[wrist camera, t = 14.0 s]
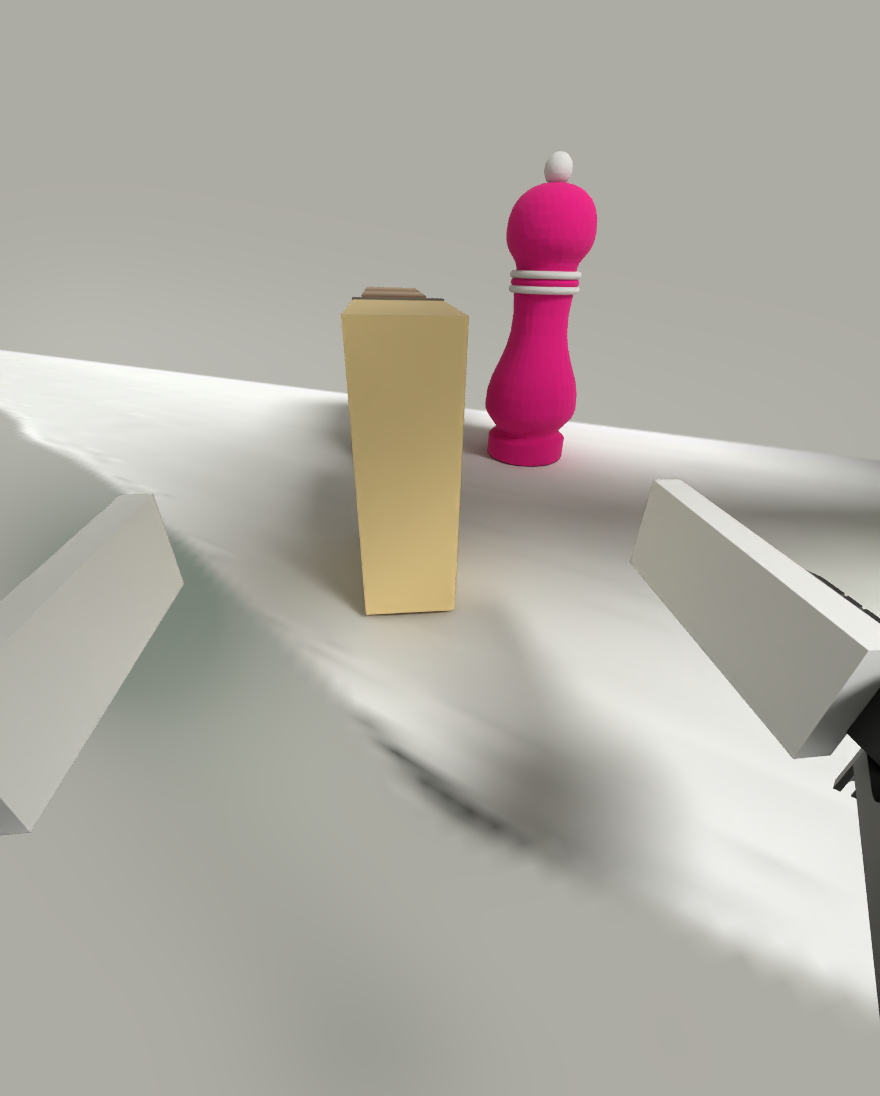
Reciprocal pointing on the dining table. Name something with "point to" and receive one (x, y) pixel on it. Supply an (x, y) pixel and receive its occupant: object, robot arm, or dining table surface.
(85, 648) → the robot arm
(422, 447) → the stub
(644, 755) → the dining table surface
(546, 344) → the pepper mill
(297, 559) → the dining table surface
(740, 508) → the dining table surface
